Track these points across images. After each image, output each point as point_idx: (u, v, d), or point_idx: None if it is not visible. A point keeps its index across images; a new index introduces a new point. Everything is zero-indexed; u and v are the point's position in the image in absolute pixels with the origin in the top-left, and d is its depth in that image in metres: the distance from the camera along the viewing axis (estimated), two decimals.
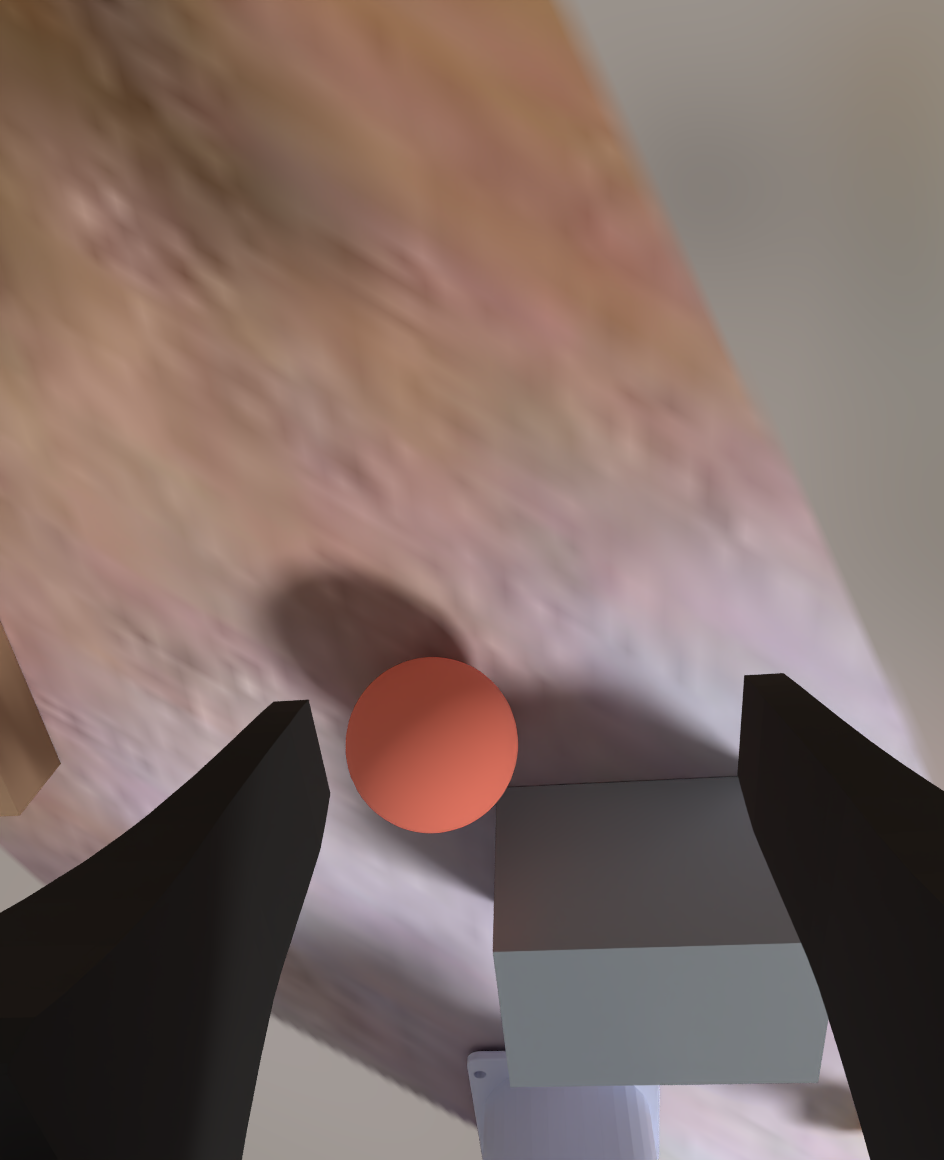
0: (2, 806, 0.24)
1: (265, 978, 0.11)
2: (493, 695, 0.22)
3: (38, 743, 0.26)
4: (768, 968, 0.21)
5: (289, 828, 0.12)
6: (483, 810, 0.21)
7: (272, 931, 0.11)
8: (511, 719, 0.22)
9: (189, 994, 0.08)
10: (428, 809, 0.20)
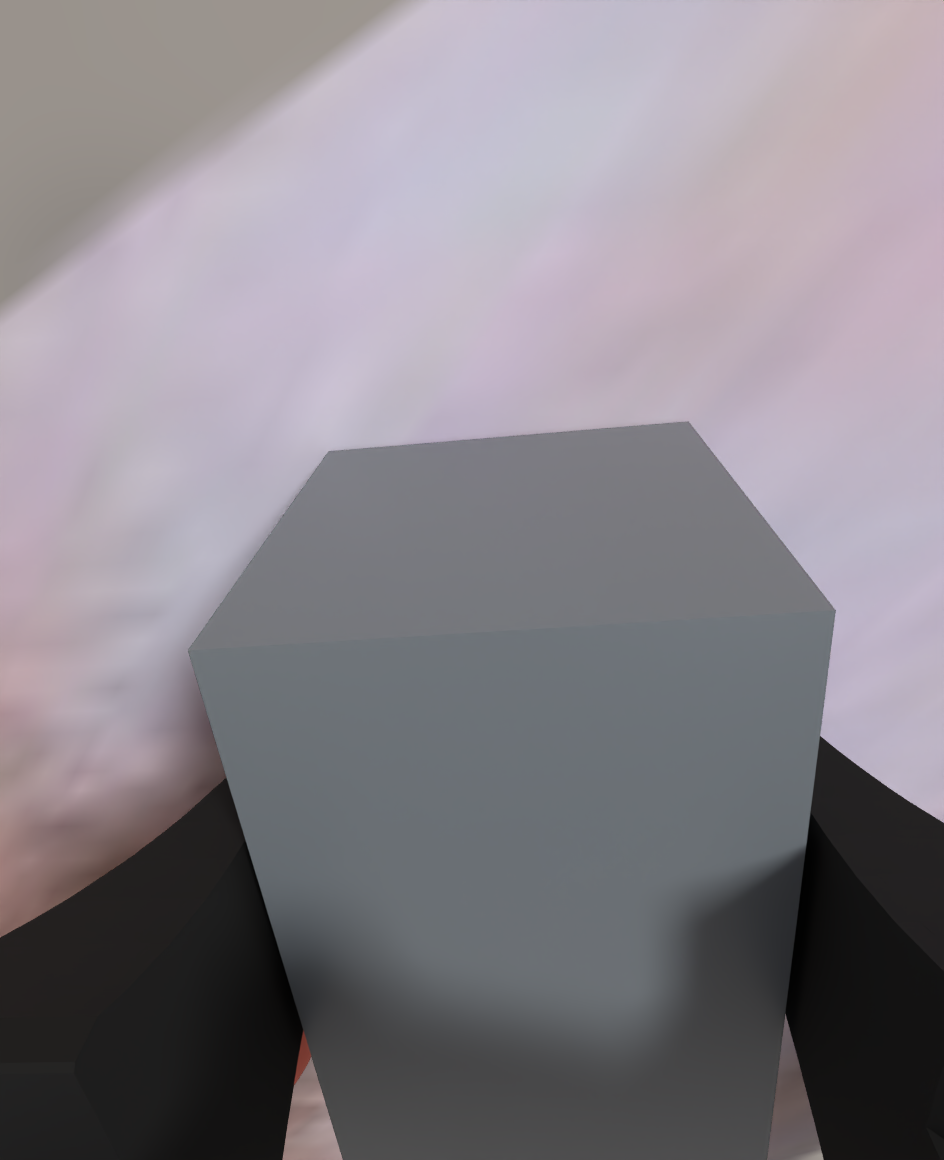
0: None
1: None
2: None
3: None
4: (319, 787, 0.08)
5: None
6: None
7: None
8: None
9: (234, 993, 0.08)
10: None
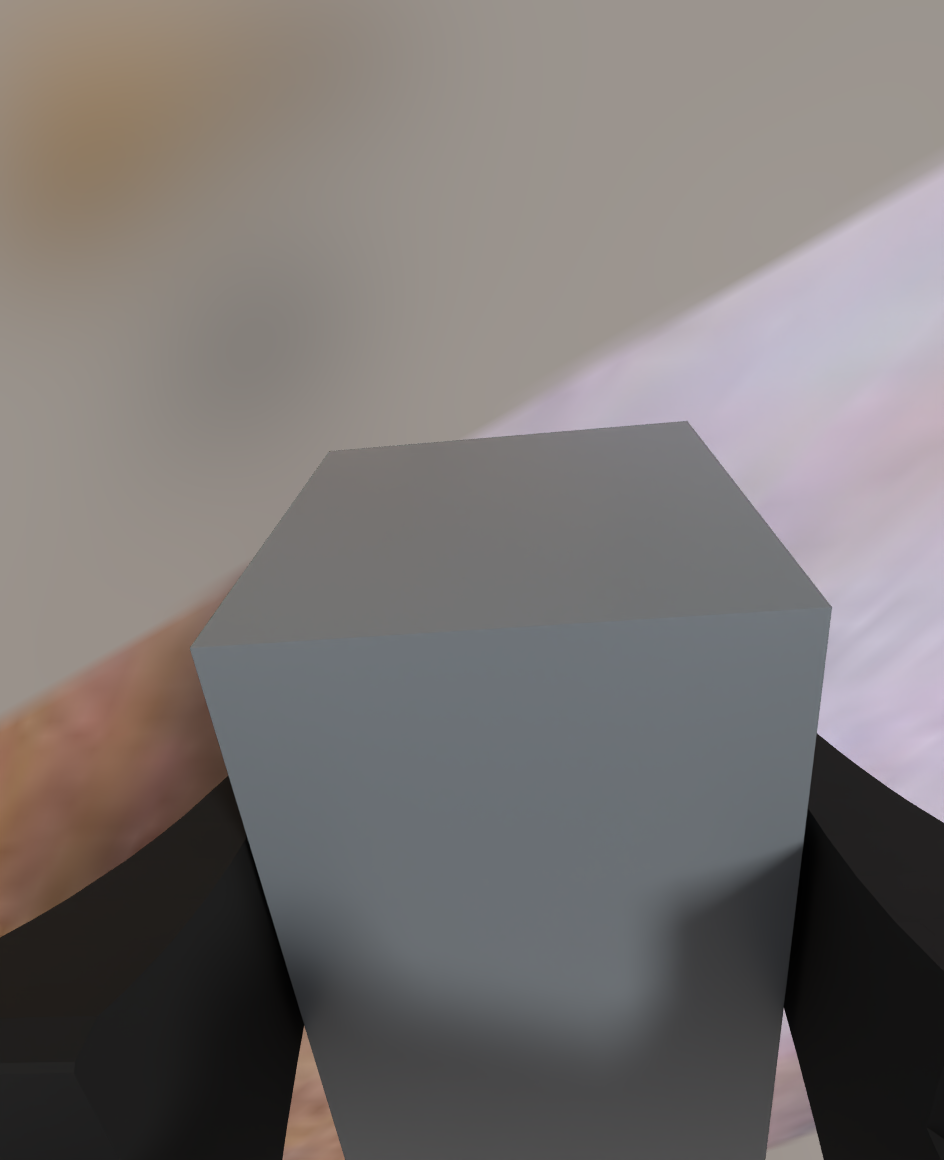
0: None
1: None
2: None
3: None
4: (320, 782, 0.08)
5: None
6: None
7: None
8: None
9: (234, 993, 0.08)
10: None
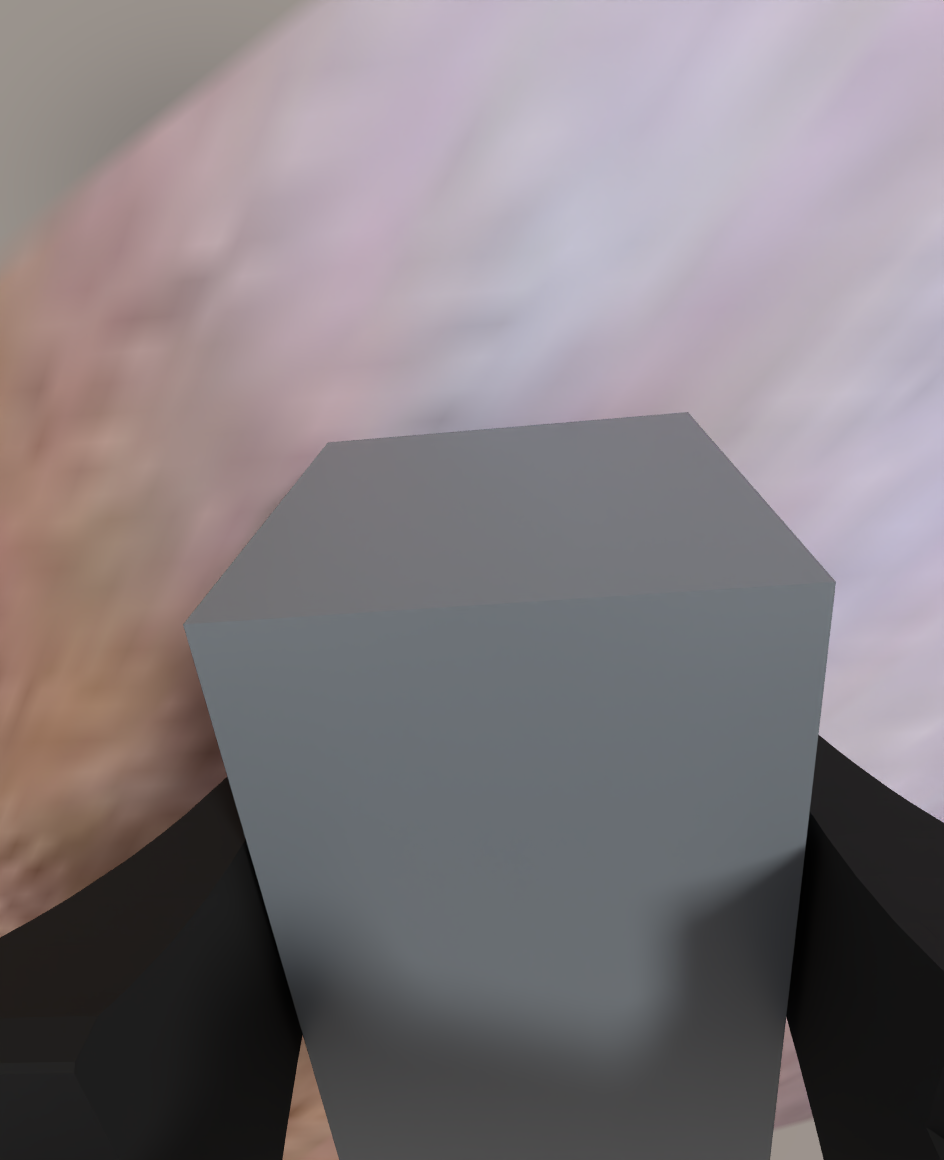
0: None
1: None
2: None
3: None
4: (314, 766, 0.08)
5: None
6: None
7: None
8: None
9: (234, 993, 0.08)
10: None
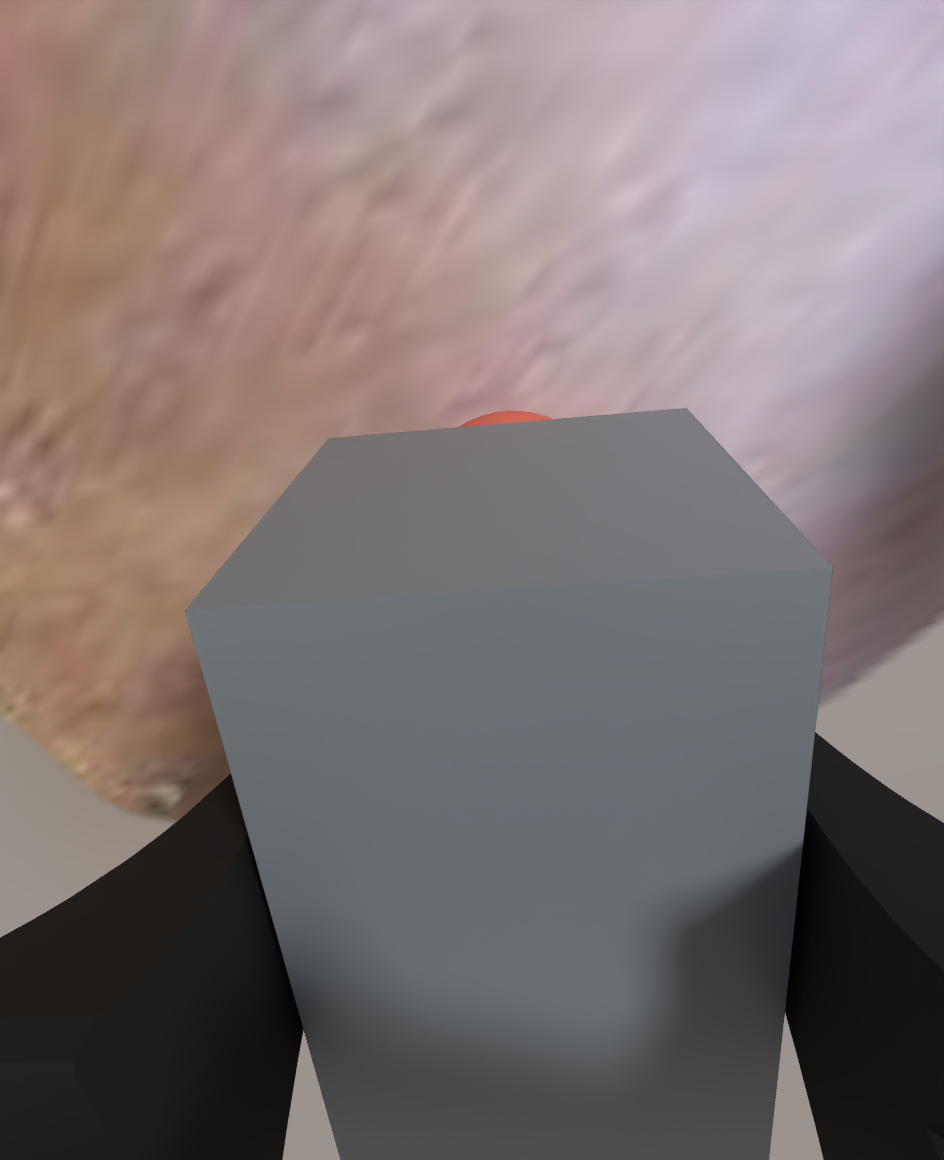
0: None
1: None
2: None
3: None
4: (315, 752, 0.08)
5: None
6: None
7: None
8: None
9: (234, 993, 0.08)
10: None
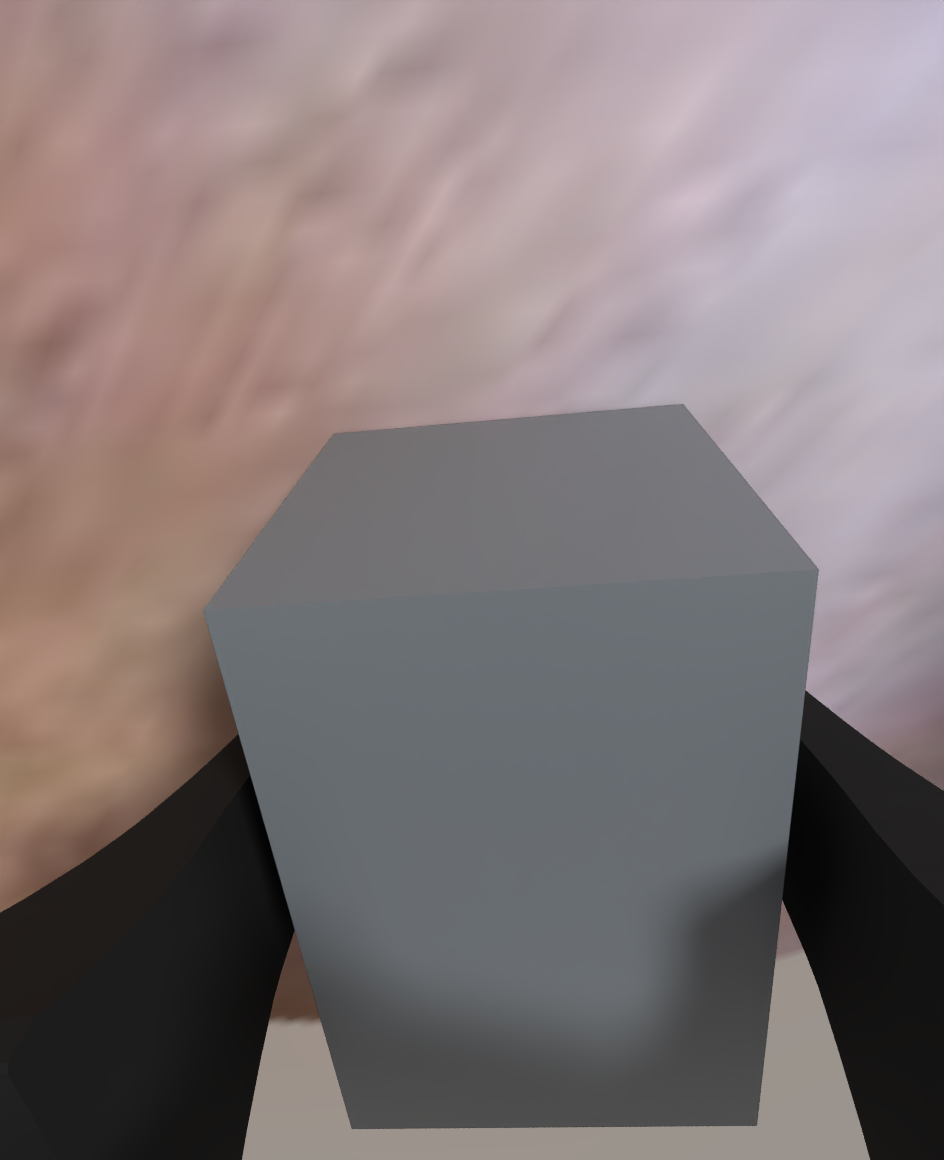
0: None
1: (266, 978, 0.11)
2: None
3: None
4: (327, 744, 0.08)
5: None
6: None
7: (272, 931, 0.11)
8: None
9: (189, 994, 0.08)
10: None
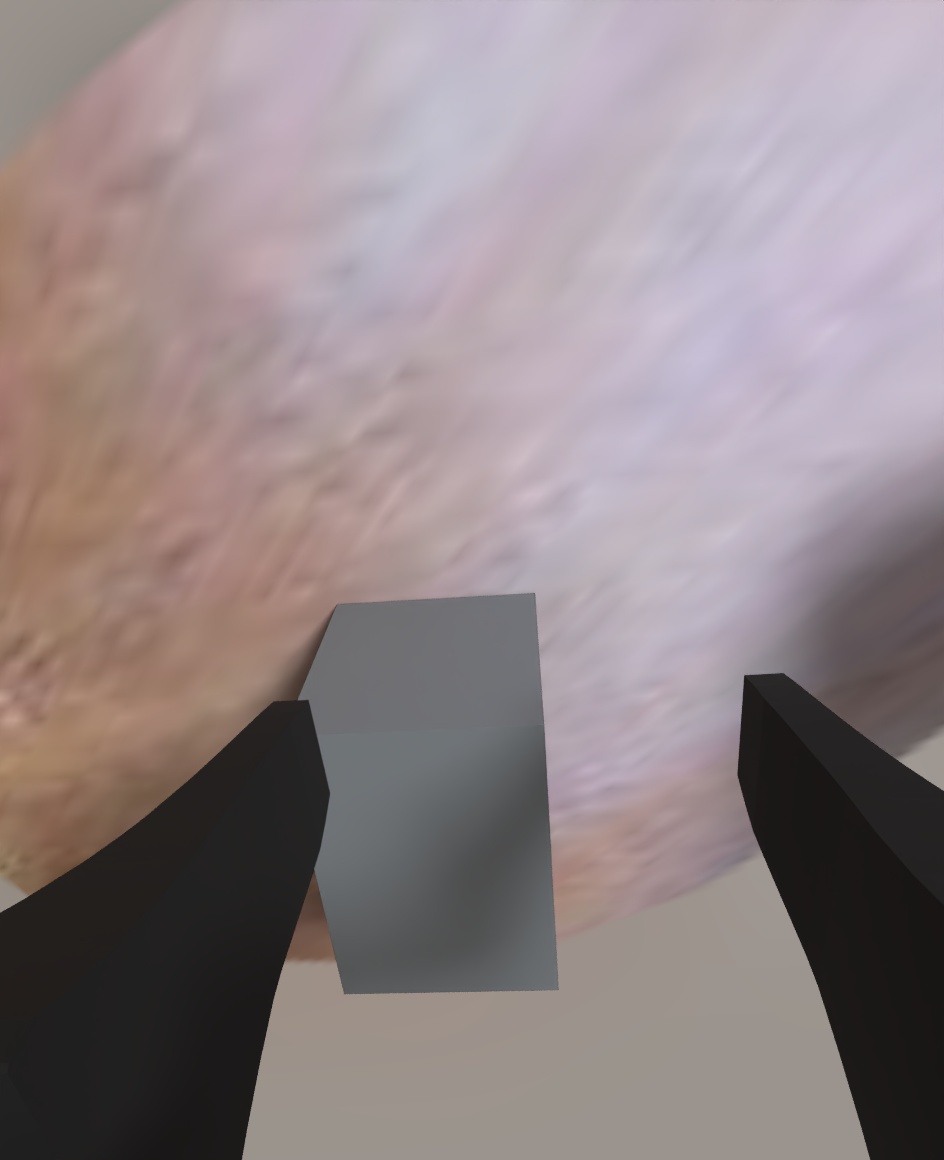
0: None
1: (265, 978, 0.11)
2: None
3: None
4: (335, 793, 0.18)
5: (289, 828, 0.12)
6: None
7: (272, 931, 0.11)
8: None
9: (189, 994, 0.08)
10: None
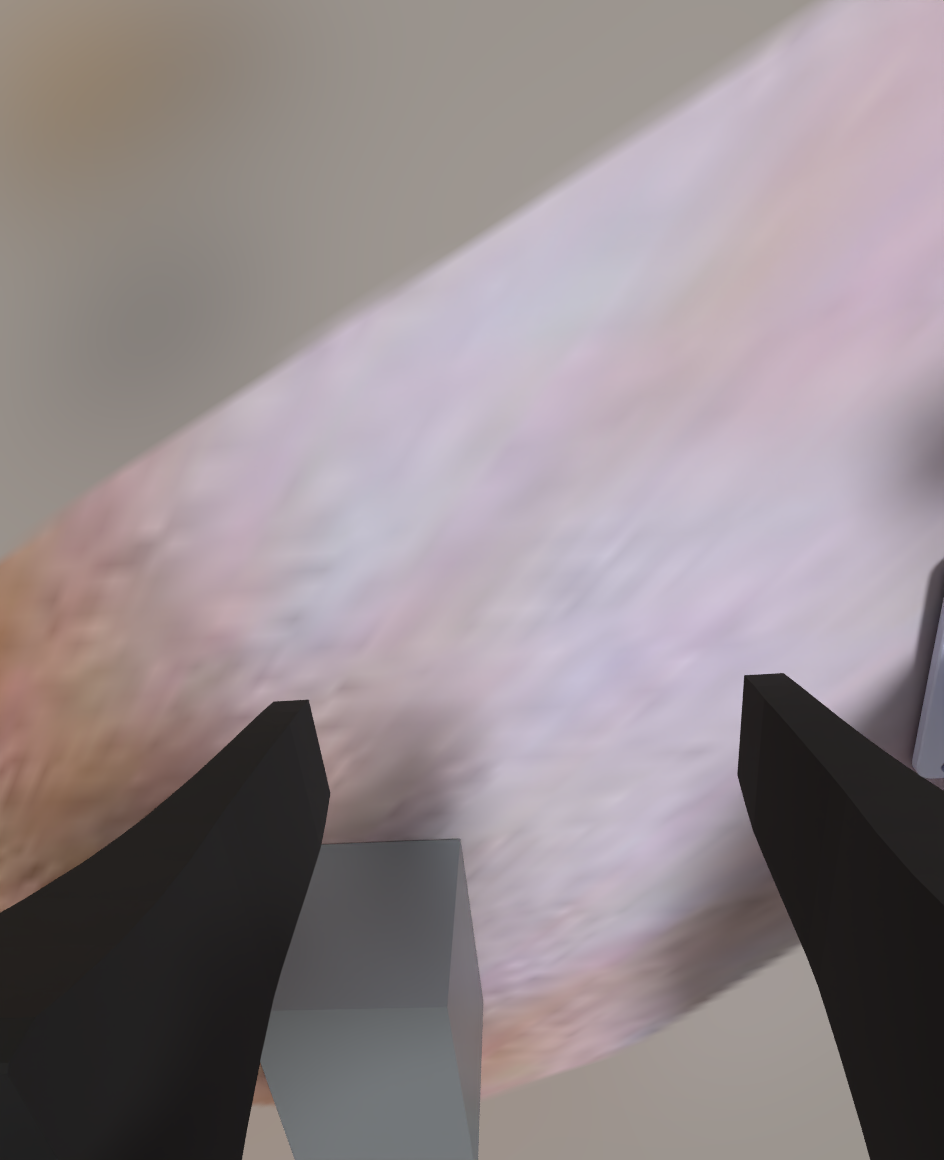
0: None
1: (265, 978, 0.11)
2: None
3: None
4: (286, 1048, 0.23)
5: (289, 828, 0.12)
6: None
7: (272, 931, 0.11)
8: None
9: (189, 994, 0.08)
10: None
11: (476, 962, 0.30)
